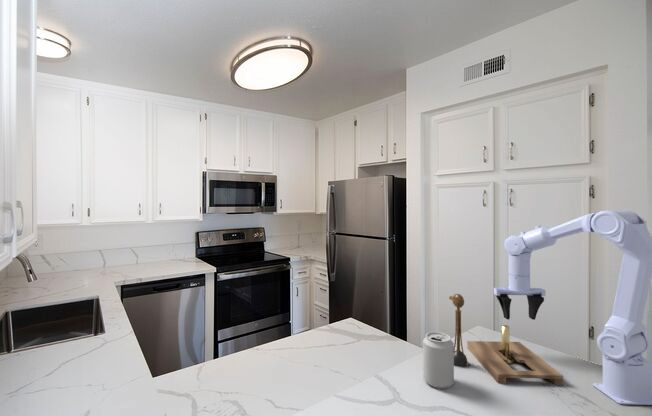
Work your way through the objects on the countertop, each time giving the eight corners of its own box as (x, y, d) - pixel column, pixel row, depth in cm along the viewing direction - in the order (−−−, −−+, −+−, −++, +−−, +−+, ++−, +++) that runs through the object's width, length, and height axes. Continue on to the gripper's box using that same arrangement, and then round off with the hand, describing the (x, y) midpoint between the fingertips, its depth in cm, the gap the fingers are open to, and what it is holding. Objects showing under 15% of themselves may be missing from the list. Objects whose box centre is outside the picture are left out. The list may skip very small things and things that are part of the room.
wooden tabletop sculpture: (444, 358, 95) (444, 291, 95) (458, 356, 96) (457, 290, 96) (456, 368, 89) (456, 296, 89) (471, 366, 90) (470, 295, 90)
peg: (508, 357, 95) (508, 323, 95) (516, 363, 91) (516, 328, 91) (495, 357, 95) (494, 324, 95) (502, 364, 91) (502, 329, 91)
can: (417, 381, 82) (417, 335, 82) (432, 371, 87) (432, 327, 87) (445, 394, 77) (444, 344, 77) (459, 382, 82) (459, 336, 82)
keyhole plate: (519, 349, 100) (519, 341, 100) (563, 384, 80) (563, 375, 80) (467, 348, 101) (467, 341, 101) (498, 383, 81) (498, 374, 81)
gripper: (535, 272, 102) (535, 314, 102) (489, 271, 103) (489, 313, 103) (549, 276, 95) (550, 322, 95) (500, 276, 96) (500, 321, 96)
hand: (519, 318), depth 98 cm, fingers open, 7 cm apart
